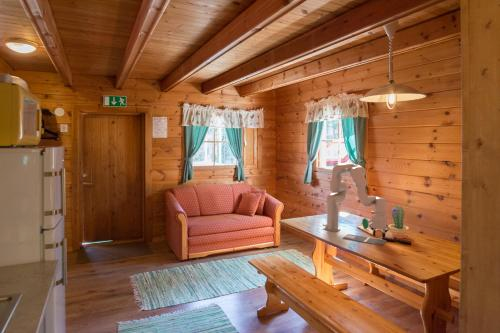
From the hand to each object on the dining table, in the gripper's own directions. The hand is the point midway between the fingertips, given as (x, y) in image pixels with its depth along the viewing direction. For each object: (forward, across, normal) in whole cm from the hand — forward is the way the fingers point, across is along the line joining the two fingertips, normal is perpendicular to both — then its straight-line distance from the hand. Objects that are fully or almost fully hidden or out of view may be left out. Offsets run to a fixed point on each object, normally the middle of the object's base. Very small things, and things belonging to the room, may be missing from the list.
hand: (379, 236), depth 256 cm
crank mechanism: (+5, -15, +26) cm, 30 cm away
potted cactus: (+5, +9, +25) cm, 27 cm away
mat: (+5, -11, 0) cm, 12 cm away
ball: (-2, 0, 0) cm, 2 cm away
